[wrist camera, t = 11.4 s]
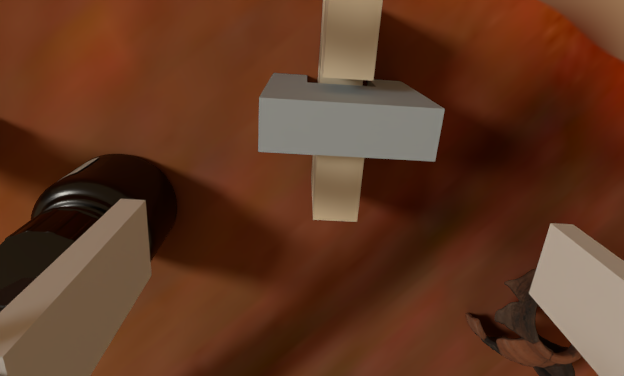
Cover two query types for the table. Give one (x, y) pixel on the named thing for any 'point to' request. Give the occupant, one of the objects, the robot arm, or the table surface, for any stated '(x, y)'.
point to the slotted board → (347, 71)
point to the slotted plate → (348, 119)
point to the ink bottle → (86, 212)
